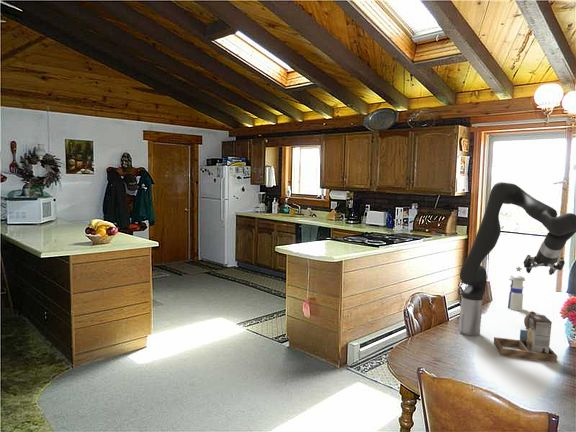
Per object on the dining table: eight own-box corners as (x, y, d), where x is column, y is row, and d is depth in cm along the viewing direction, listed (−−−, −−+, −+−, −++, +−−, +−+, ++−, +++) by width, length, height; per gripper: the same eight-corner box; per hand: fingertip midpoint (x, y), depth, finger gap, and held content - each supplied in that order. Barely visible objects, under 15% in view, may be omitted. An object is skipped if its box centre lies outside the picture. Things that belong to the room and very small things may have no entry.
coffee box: (524, 348, 185) (528, 313, 183) (540, 350, 183) (544, 315, 182) (532, 357, 176) (535, 320, 175) (549, 359, 174) (552, 321, 173)
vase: (533, 332, 208) (535, 314, 208) (520, 327, 215) (522, 310, 214) (542, 330, 212) (543, 313, 211) (528, 325, 218) (530, 309, 217)
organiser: (500, 355, 177) (502, 337, 177) (493, 343, 191) (494, 326, 190) (556, 362, 172) (558, 343, 171) (545, 349, 185) (546, 332, 185)
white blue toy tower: (504, 306, 253) (507, 265, 251) (519, 307, 252) (522, 266, 250) (509, 310, 245) (512, 268, 243) (525, 311, 244) (528, 269, 242)
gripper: (568, 244, 171) (555, 266, 183) (529, 241, 175) (519, 263, 187) (572, 259, 167) (559, 281, 179) (532, 256, 170) (522, 278, 182)
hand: (538, 272), depth 183 cm, fingers open, 8 cm apart
